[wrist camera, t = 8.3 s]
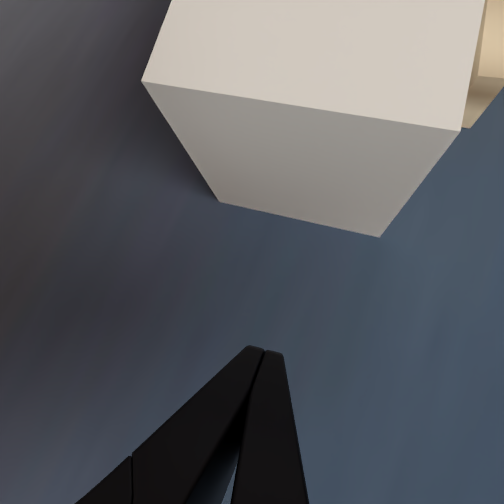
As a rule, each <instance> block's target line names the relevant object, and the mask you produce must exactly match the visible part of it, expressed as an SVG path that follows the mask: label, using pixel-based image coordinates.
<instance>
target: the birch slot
mask: <svg viewBox="0 0 504 504" xmlns="http://www.w3.org/2000/svg"><path fill="white" fill-rule="evenodd" d="M503 87H504V0H485V3H484V8H483V13H482V19H481V24H480V29H479V35H478V40H477V45H476V51H475V56H474V61H473V67H472V72H471V77H470V83H469V88H468V93H467V99H466V104H465V109H464V115H463V120H462V125H461V127H463V128H471V127H472V125H473V124H474V123H475V122H476V120H477V119H478V118H479V117H480V115H481V114H482V113H483V112H484V110H485V109H486V108H487V107H488V105H489V104H490V103H491V102H492V100H493V99H494V98H495V97H496V95H497V94H498V93H499V92H500V90H501V89H502V88H503Z"/></svg>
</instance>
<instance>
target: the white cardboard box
mask: <svg viewBox="0 0 504 504" xmlns="http://www.w3.org/2000/svg"><path fill="white" fill-rule="evenodd" d="M484 3H485V0H172V1H171V4H170V6H169V9H168V12H167V14H166V17H165V19H164V22H163V25H162V27H161V30H160V33H159V35H158V38H157V40H156V43H155V46H154V48H153V51H152V54H151V56H150V59H149V61H148V64H147V67H146V69H145V72H144V75H143V77H142V80H141V82H142V83H143V85H144V86H145V88H146V89H147V91H148V93H149V94H150V96H151V97H152V99H153V100H154V102H155V103H156V105H157V106H158V108H159V110H160V111H161V113H162V114H163V116H164V117H165V119H166V120H167V122H168V123H169V125H170V126H171V128H172V130H173V131H174V133H175V134H176V136H177V137H178V139H179V140H180V142H181V143H182V145H183V147H184V148H185V150H186V151H187V153H188V154H189V156H190V157H191V159H192V160H193V162H194V164H195V165H196V167H197V168H198V170H199V171H200V173H201V174H202V176H203V177H204V179H205V180H206V182H207V184H208V185H209V187H210V188H211V190H212V191H213V193H214V194H215V196H216V197H217V199H218V201H219V202H222V203H227V204H231V205H236V206H240V207H245V208H249V209H254V210H258V211H263V212H267V213H272V214H276V215H281V216H285V217H290V218H294V219H299V220H303V221H308V222H312V223H317V224H321V225H326V226H330V227H335V228H339V229H344V230H348V231H353V232H357V233H362V234H366V235H371V236H375V237H380V236H381V235H382V233H383V232H384V231H385V229H386V228H387V227H388V225H389V224H390V223H391V222H392V220H393V219H394V218H395V216H396V215H397V214H398V212H399V211H400V210H401V208H402V207H403V206H404V204H405V203H406V202H407V201H408V199H409V198H410V197H411V195H412V194H413V193H414V191H415V190H416V189H417V187H418V186H419V185H420V184H421V182H422V181H423V180H424V178H425V177H426V176H427V174H428V173H429V172H430V170H431V169H432V168H433V167H434V165H435V164H436V163H437V161H438V160H439V159H440V157H441V156H442V155H443V153H444V152H445V151H446V150H447V148H448V147H449V146H450V144H451V143H452V142H453V140H454V139H455V138H456V136H457V135H458V134H459V133H460V131H461V125H462V120H463V115H464V109H465V104H466V99H467V93H468V88H469V83H470V77H471V72H472V67H473V61H474V56H475V51H476V45H477V40H478V35H479V29H480V24H481V19H482V13H483V8H484Z"/></svg>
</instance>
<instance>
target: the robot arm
mask: <svg viewBox="0 0 504 504" xmlns="http://www.w3.org/2000/svg"><path fill="white" fill-rule="evenodd" d="M236 464H237V468H236V474H235V480H234V486H233V492H232V498H231V503H230V504H309V500H308V494H307V488H306V483H305V477H304V471H303V465H302V460H301V454H300V448H299V443H298V437H297V431H296V425H295V420H294V414H293V408H292V403H291V397H290V391H289V385H288V380H287V374H286V368H285V363H284V357H283V355H282V354H281V353H278V352H274V351H270V350H266V351H264V349H262V348H259V347H255V346H251V345H249V346H246V347H245V348H244V349H243V350H242V351H241V352H240V353H239V354H238V355H236V356H235V357H234V358H233V359H232V360H231V361H230V362H229V363H228V364H227V365H226V366H225V367H224V368H223V369H221V370H220V371H219V372H218V373H217V374H216V375H215V376H214V377H213V378H212V379H211V380H210V381H209V382H208V383H206V384H205V385H204V386H203V387H202V388H201V389H200V390H199V391H198V392H197V393H196V394H195V395H194V396H193V397H191V398H190V399H189V400H188V401H187V402H186V403H185V404H184V405H183V406H182V407H181V408H180V409H179V410H178V411H176V412H175V413H174V414H173V415H172V416H171V417H170V418H169V419H168V420H167V421H166V422H165V423H164V424H163V425H161V426H160V427H159V428H158V429H157V430H156V431H155V432H154V433H153V434H152V435H151V436H150V437H149V438H148V439H146V440H145V441H144V442H143V443H142V444H141V445H140V446H139V447H138V448H137V449H136V450H135V451H134V452H133V453H132V457H131V456H128V457H127V458H126V459H125V460H124V461H123V462H122V463H121V464H119V465H118V466H117V467H116V468H115V469H114V470H113V471H112V472H111V473H110V474H109V475H107V476H106V477H105V478H104V479H103V480H102V481H101V482H100V483H98V484H97V485H96V486H95V487H94V488H93V489H92V490H91V491H89V492H88V493H87V494H86V495H85V496H84V497H82V498H81V499H80V500H79V501H77V502H76V503H75V504H221V503H222V500H223V498H224V495H225V493H226V490H227V487H228V485H229V482H230V480H231V477H232V475H233V472H234V470H235V467H236Z"/></svg>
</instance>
